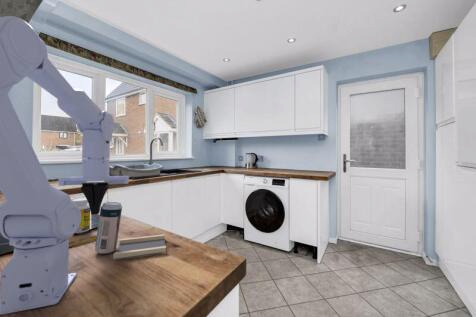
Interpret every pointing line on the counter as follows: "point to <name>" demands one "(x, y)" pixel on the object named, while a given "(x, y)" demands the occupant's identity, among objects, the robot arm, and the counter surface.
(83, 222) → the supplement bottle
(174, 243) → the counter surface
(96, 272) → the counter surface
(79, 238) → the shard
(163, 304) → the counter surface
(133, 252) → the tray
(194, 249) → the counter surface
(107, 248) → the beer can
